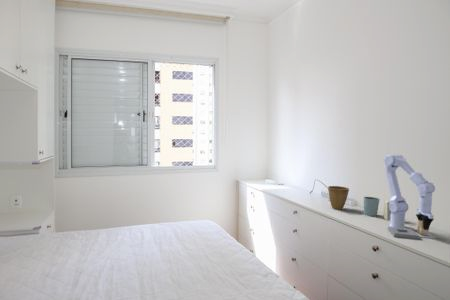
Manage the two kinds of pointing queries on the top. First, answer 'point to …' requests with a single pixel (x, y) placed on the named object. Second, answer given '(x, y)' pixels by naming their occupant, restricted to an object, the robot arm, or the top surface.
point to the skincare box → (387, 210)
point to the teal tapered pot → (371, 206)
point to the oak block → (421, 229)
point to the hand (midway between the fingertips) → (423, 228)
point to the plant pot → (338, 196)
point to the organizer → (403, 232)
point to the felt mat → (426, 236)
